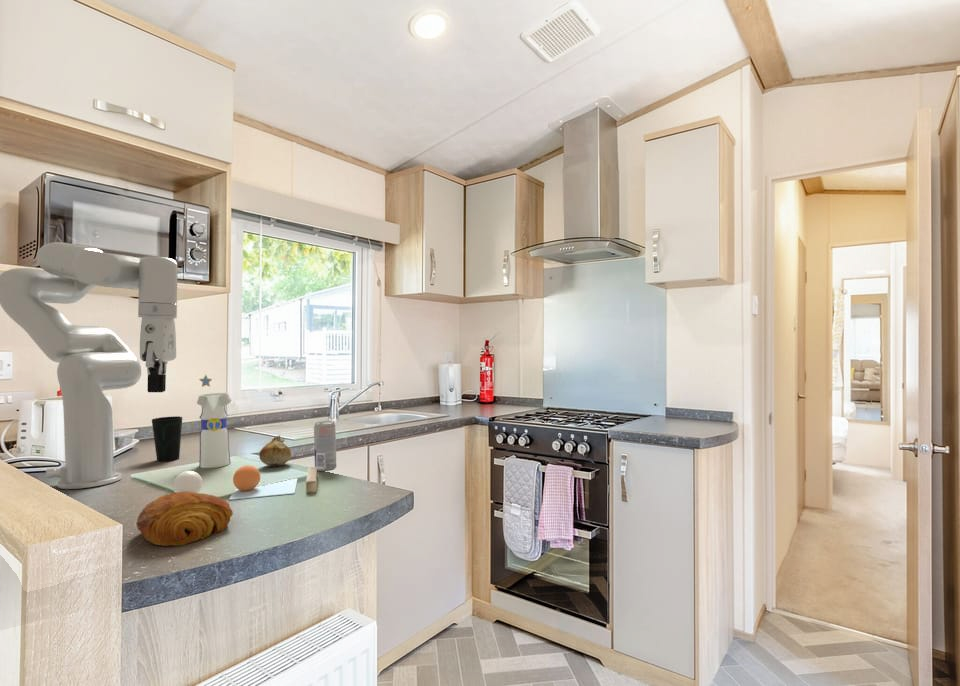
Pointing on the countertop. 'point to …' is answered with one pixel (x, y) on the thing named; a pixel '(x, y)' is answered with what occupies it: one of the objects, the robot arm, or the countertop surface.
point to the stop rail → (311, 480)
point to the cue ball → (187, 482)
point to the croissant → (183, 518)
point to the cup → (167, 437)
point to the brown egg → (246, 478)
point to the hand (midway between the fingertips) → (156, 391)
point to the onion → (275, 452)
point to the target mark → (267, 490)
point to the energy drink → (325, 445)
